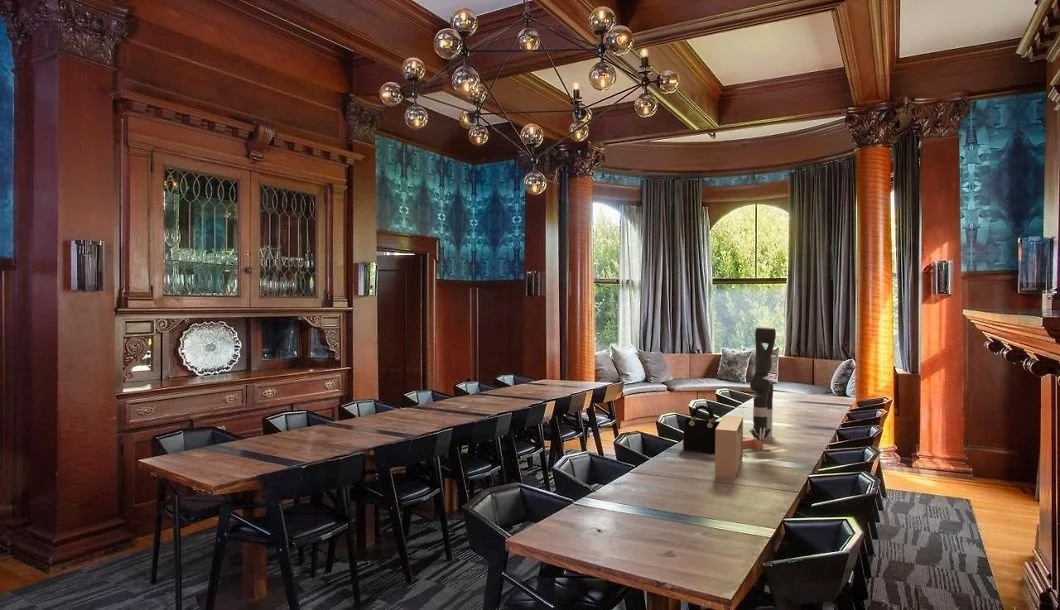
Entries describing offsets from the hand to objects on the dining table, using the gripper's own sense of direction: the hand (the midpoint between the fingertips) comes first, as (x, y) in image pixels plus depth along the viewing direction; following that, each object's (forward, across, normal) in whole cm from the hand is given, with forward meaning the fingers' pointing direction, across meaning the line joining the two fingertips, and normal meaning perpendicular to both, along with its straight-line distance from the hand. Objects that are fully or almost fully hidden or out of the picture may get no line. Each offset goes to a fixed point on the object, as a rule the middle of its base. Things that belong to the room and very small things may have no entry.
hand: (760, 446), depth 354 cm
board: (+2, +4, -1) cm, 5 cm away
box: (+2, +41, +27) cm, 49 cm away
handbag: (+2, +33, -7) cm, 34 cm away
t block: (+1, +8, 0) cm, 8 cm away
